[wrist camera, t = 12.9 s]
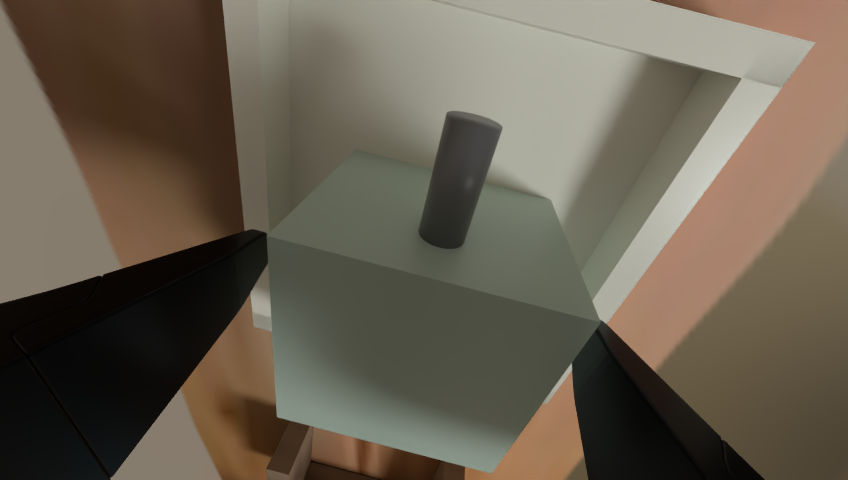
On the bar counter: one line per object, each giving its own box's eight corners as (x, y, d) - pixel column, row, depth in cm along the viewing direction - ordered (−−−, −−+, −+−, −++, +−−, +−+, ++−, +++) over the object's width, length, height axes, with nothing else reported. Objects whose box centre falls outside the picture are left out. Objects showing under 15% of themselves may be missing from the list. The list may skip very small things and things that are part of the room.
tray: (539, 360, 15) (546, 404, 13) (279, 292, 15) (253, 326, 13) (744, 40, 8) (815, 42, 6) (268, -83, 8) (211, -113, 6)
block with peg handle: (488, 333, 13) (491, 473, 9) (341, 295, 13) (276, 416, 9) (588, 118, 9) (689, 201, 5) (365, 61, 9) (258, 89, 5)
